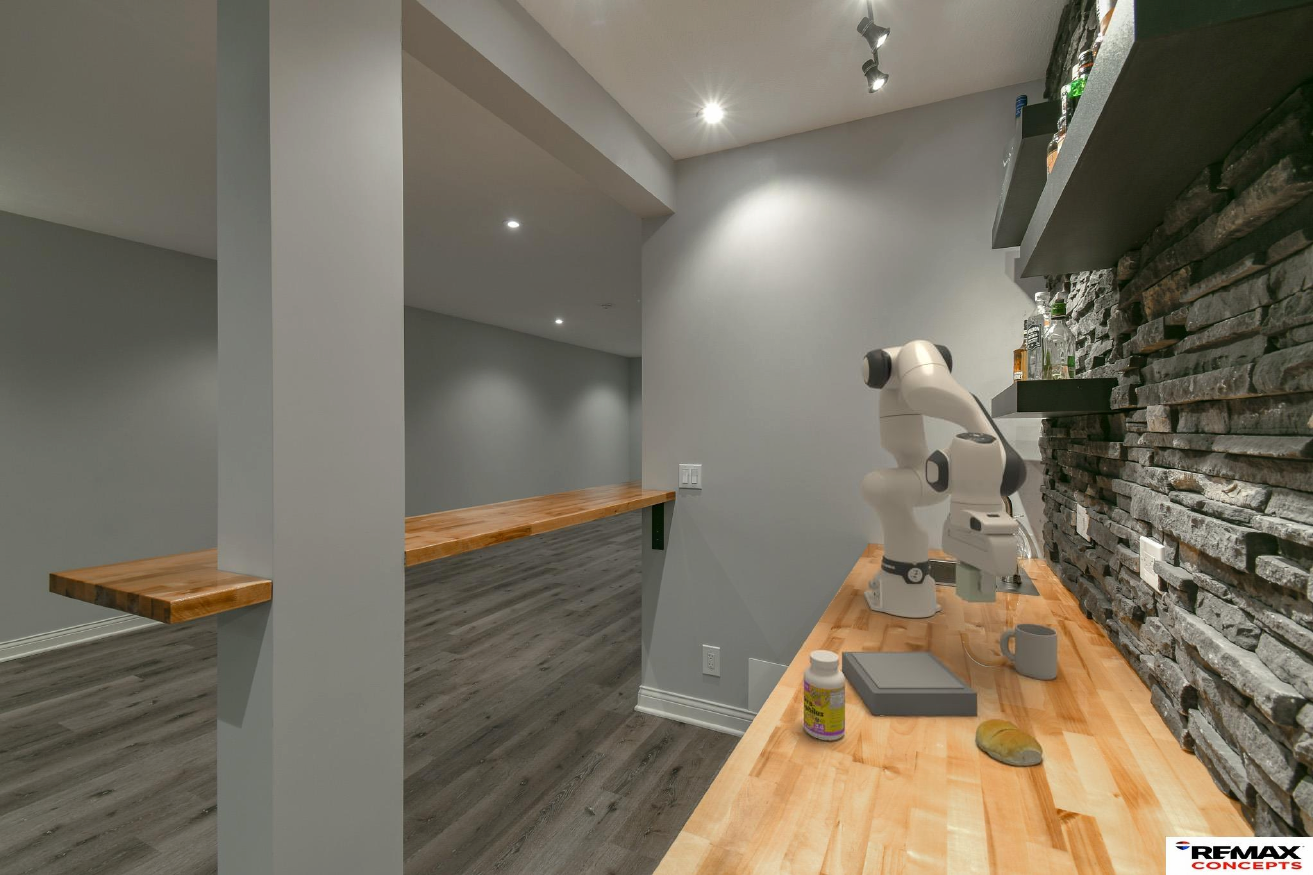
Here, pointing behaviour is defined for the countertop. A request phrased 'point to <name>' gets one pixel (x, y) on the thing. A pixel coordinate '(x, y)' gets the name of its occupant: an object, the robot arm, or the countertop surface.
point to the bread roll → (1008, 743)
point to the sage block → (972, 585)
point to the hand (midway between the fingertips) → (975, 587)
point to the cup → (1032, 650)
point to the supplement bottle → (824, 696)
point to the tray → (908, 684)
